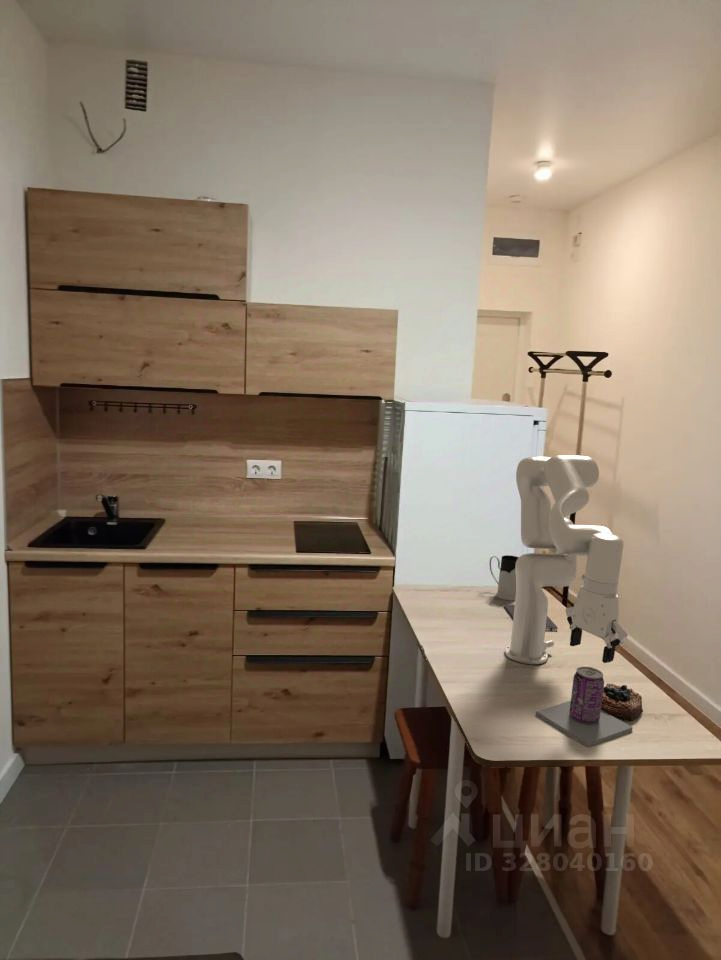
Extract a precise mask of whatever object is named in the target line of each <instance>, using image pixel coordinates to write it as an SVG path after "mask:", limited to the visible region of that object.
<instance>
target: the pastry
mask: <svg viewBox="0 0 721 960" xmlns="http://www.w3.org/2000/svg"><path fill="white" fill-rule="evenodd" d="M601 710H603V711H604V712H606V713H608V714H610V715H612V716H613V717H615V718H618V719H619V720H621V721H625V720H626V721H625V722H633V721H634V720H635V719H636V718H637V717H638V716H639V715H640V714H641V712H644V709H643V701H642V695H640V694H639V693H638V692H635V691H634V690H633V689H632V688H628V686H627V685H626V684H622V685H616V684H614V683H606V685H604V689H603V696H602V704H601Z"/></svg>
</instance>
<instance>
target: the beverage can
mask: <svg viewBox="0 0 721 960" xmlns="http://www.w3.org/2000/svg"><path fill="white" fill-rule="evenodd" d="M604 687H605V680H604V673H603V672H602V671H601V670H599V669H597V668H595V667H591V666H579V667H577V668H576V672H575V673H574V674H573V678H572V687H571V688H572V689H571V696H570V701H571V703H570V711H569V713H570V715H571V716H572V717H573V718H575V719H576V720H578V721H580V722H583V723H593V722H597V721H599V719H600V712H601V704H602V696H603V689H604Z"/></svg>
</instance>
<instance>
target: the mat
mask: <svg viewBox="0 0 721 960" xmlns="http://www.w3.org/2000/svg"><path fill="white" fill-rule="evenodd" d="M570 703H571V700H568V701H566V702H562V703H559V704H555V705H551V706H548V707H545V708H541V709H538V710H536V711H535V716H537V717H539V718H540V719H542V720H543V721H545V722H546V723H548V724H550V725H551V726H553V727H555V728H556V729H558V730H559V731H561V732H563V733H564V734H566V735H567V736H569V737H571V738H572V739H574V740H576V742H579V743H580V744H582V745H583V746H585V747H587V748H589V747H591V746H594V745H595V746H596V745H597V744H600V743H603V742H605V741H608V740H611V739H613V738H617V737H620V736H622V735H625V734H628V733H630V732H633V729H634V727H633V726H631V725H630V724H627V723H626V722H624V721H623V720H621V719H617V718H615V717H613V716H612V715H610V714H608V713H606V712H604V711H603V710H601V712H600V719H599V721H597V722H593V723H583V722H580V721H578V720H576V719H575V718H573V717H572V716H571V715H570V713H569V711H570Z"/></svg>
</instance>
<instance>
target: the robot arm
mask: <svg viewBox="0 0 721 960" xmlns="http://www.w3.org/2000/svg"><path fill="white" fill-rule="evenodd" d="M599 470H600V469H599V466H598V463H597V462H596V461H595V460H594V459H593V458H592V457H590V456H587V455H586V456H585V455H570V454H569V455H568V454H559V455H553V456H528V457H525V458H523V459H521V460H520V461H519V462H518V465H517V468H516V473H515V481H516V486H517V487H516V488H517V490H518V493H519V498H520V537H521V538H520V539H521V542H522V544H523V546H525V547H526V548H530V549H538V550H539V549H542V550H556V551H555V552H556V553H543V552H541V553H540V552H539V553H537V552H535V553H534V552H533V553H532V552H528V553H524V554H522V555H520V556H518V557H519V558H518V559H517V561H516V566H515V571H516V598H515V600H514V601H515V602H514V605H515V609H514V618H513V619H512V629H511V637H510V638H511V639H510V644H509V645H506V646H505V648H504V655H505V656H506V657H508V658H509V659H511V660H512V661H515V662H517V663H521V664H526V665H540V664H544V663H546V662H547V661H548V657H549V655H548V653H547V652H546V650H547V649H548V648H553V647H554V646H555V643H554V641H553V640H552V639H551V640H546V641H545V639H546V638H545V635H546V631H545V629H546V620H547V616H548V610H549V599H548V596H546V595H547V594H545V592H544V591H543V587H570V586H572V585H573V584H574V583H575V582H576V578H577V567H578V566H577V565H578V564H577V562H578V561H577V557H578V556H579V557H582V556H583V557H586V565H585V571H584V574H582V575H581V576H580V577H581V580H583V585H581V586H580V587H579V589H578V592H577V594H576V598H575V602H574V605H573V606H572V607H567V608H565V614H566V617H567V618H566V619H567V620H566V621H567V622H568V624H569V630H570V631H571V632H570V639H569V640H570V641H569V646H570V647H576V646H579V645H581V642H582V637H583V631H584V632H586V633H589V634H591V635H593V636H594V637H598V638H601V639H603V641H604V644H606V645H605V646H604V647H603V652H602V659H601V662H602V663H603V664H607V663H611V662H613V661H614V658H615V654H616V653H615V652H616V648H617V647H618V646H619V645H621V644H623V643H624V641H626V639H627V638H628V637H629V636H628V633H627V632H626V631H625V629H624V628H623V627H622V626H621V624H619V614H620V605H619V603H620V601H619V600H620V599H619V595H618V594H617V592H618V585H619V580H620V579H619V578H620V572H621V571H620V570H621V565H622V559H623V552H624V551H623V550H624V540H623V539H622V538H621V537H620V536H619V535H616V534H614V532H613V531H612V530H611V529H610V528H609V527H607V526H603V525H589V524H574V522H573V521H572V520H571V519H570V518H567V517H568V516H570V515H572V514H575V513H577V512H579V511H581V510H582V509H584V507H586V506H587V504H588V503H589V501H590V494H589V493H590V492H589V491H588V490H587V488H591V487H593V486H595V485H596V484H597V482H598V480H599V477H600V471H599ZM543 487H549V489H550V492H551V494H552V496H553V499H554V501H555V503H554V504H553V506H552V508H551V499H550V497H549V495H548V494H547V492H546V491H545V490H544V488H543ZM616 634H617V636H616Z"/></svg>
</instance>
